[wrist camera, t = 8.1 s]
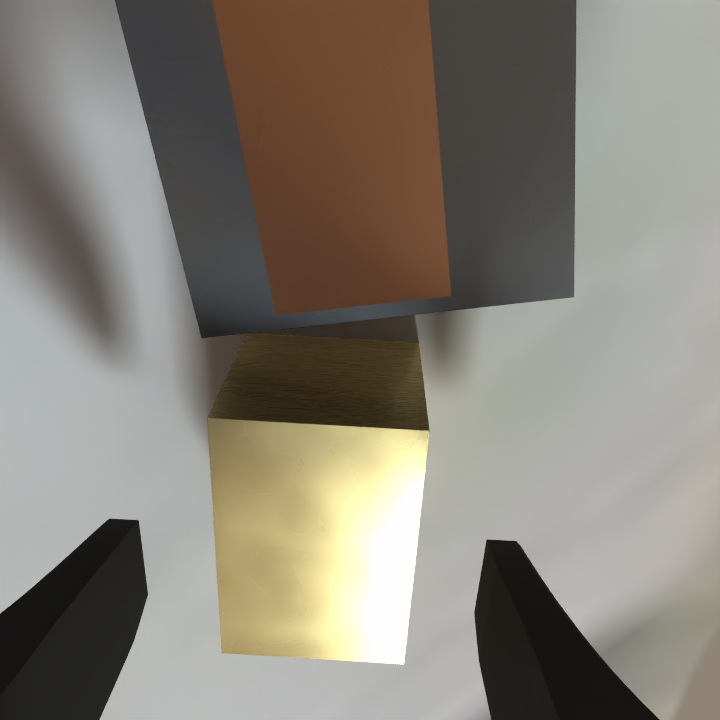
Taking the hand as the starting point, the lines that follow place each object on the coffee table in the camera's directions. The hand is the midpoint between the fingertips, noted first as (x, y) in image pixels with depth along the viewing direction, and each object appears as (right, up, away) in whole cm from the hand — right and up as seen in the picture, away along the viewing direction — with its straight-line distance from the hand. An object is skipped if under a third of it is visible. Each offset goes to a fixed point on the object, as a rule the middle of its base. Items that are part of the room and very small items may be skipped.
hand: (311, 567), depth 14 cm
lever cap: (0, +2, +3) cm, 4 cm away
